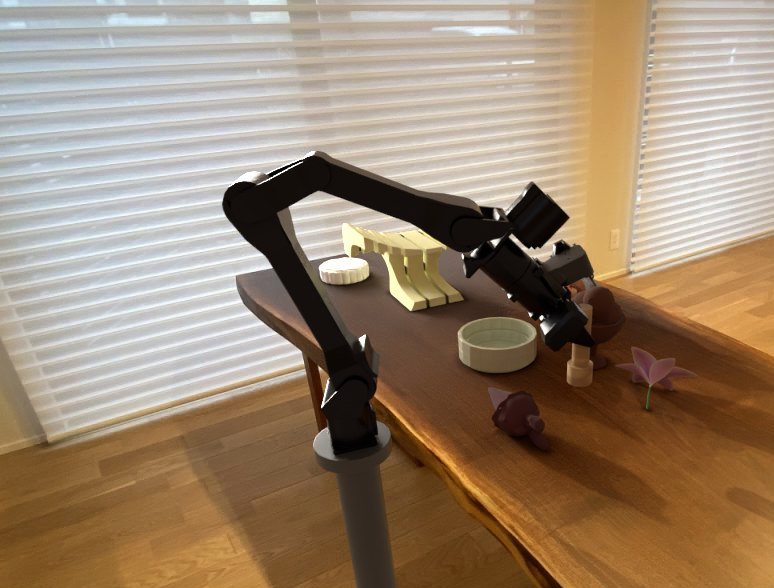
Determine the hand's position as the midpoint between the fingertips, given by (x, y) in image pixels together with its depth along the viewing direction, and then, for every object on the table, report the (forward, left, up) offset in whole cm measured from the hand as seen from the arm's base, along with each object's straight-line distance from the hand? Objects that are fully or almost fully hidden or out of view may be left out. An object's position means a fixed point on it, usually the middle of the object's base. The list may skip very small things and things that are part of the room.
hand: (590, 340), depth 90 cm
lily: (+13, +2, -14) cm, 19 cm away
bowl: (-5, +26, -13) cm, 29 cm away
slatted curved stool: (-9, +63, -14) cm, 65 cm away
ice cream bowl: (+10, +17, -14) cm, 24 cm away
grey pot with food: (+18, +38, -14) cm, 44 cm away
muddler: (-1, 0, -7) cm, 7 cm away
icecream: (-11, +1, -14) cm, 18 cm away
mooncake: (-24, +83, -14) cm, 87 cm away
